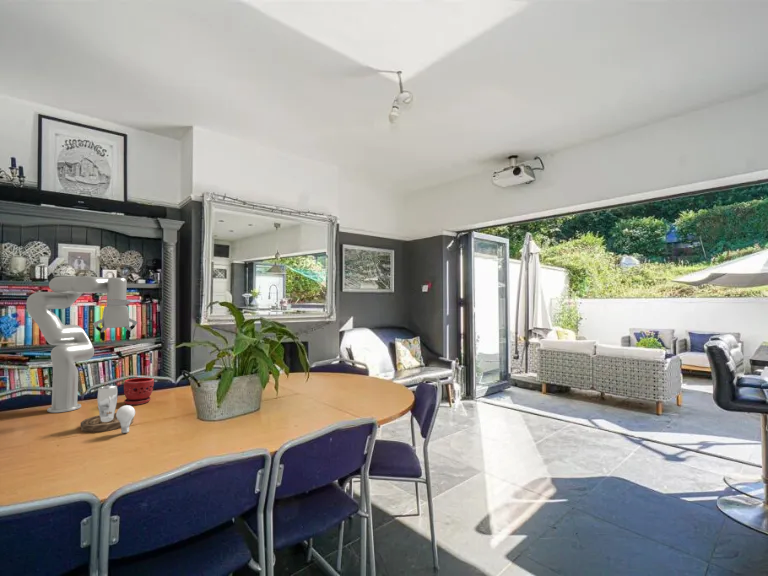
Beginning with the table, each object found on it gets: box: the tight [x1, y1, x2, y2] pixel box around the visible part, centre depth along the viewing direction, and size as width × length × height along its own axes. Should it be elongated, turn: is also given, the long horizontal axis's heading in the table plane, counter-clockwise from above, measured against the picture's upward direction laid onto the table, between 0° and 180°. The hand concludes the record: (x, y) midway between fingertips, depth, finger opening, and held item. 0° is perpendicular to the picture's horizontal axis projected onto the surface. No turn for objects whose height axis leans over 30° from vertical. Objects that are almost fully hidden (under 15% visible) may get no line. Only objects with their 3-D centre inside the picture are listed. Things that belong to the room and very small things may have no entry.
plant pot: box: [123, 377, 155, 406], centre depth 198 cm, size 13×13×12 cm
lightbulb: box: [115, 404, 136, 434], centre depth 153 cm, size 6×6×11 cm
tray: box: [80, 412, 135, 433], centre depth 163 cm, size 18×18×3 cm
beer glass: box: [97, 385, 119, 424], centre depth 163 cm, size 7×7×15 cm
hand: (115, 340), depth 180 cm, fingers open, 9 cm apart
